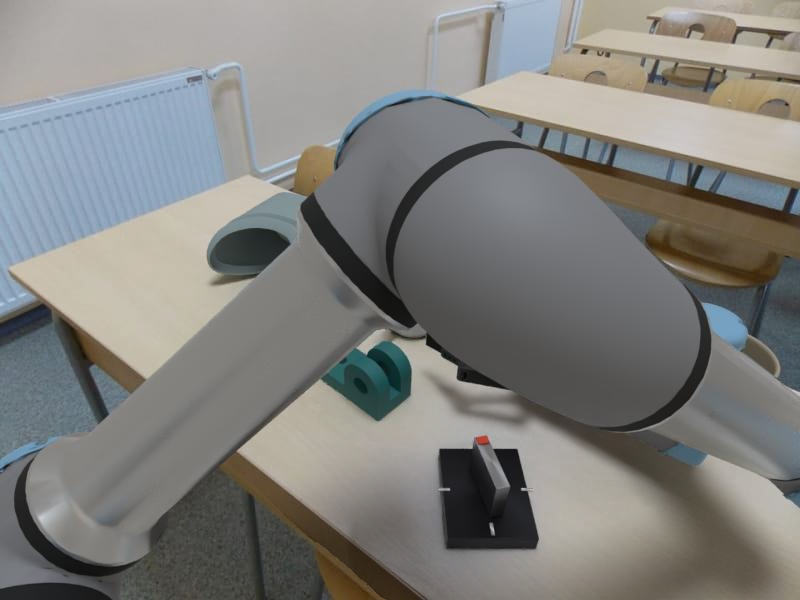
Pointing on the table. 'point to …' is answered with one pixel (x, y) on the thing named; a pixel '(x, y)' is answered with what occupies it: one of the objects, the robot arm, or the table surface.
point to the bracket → (373, 378)
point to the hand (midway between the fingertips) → (454, 314)
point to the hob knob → (489, 476)
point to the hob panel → (468, 511)
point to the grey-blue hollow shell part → (255, 236)
